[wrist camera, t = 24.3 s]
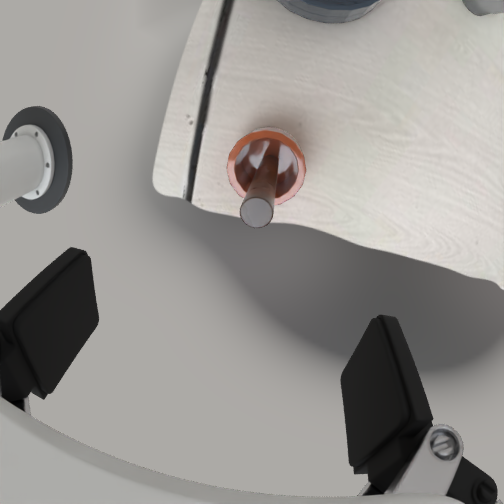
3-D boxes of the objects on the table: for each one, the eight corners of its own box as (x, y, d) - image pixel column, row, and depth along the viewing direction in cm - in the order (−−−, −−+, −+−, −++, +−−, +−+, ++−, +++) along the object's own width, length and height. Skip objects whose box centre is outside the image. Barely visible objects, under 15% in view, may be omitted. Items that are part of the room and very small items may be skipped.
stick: (259, 171, 36) (238, 225, 20) (261, 153, 35) (241, 194, 19) (277, 173, 36) (270, 230, 20) (279, 156, 35) (275, 199, 19)
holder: (232, 182, 38) (222, 197, 32) (243, 121, 34) (234, 124, 28) (293, 194, 38) (295, 213, 32) (307, 134, 34) (313, 140, 28)
